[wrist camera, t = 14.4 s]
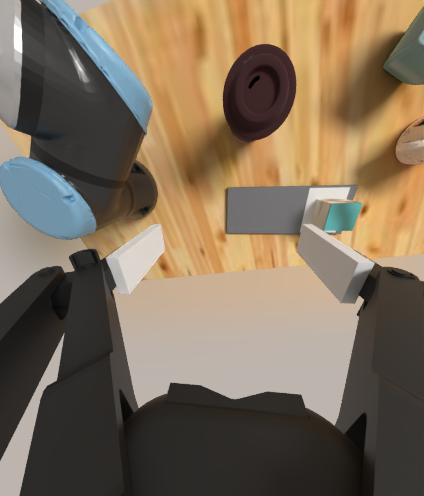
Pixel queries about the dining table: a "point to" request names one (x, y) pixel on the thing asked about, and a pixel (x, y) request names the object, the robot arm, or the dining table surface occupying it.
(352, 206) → the birch cube
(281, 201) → the charcoal mat
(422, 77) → the flower pot
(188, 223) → the dining table surface
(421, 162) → the teacup with lid
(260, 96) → the coffee cup
